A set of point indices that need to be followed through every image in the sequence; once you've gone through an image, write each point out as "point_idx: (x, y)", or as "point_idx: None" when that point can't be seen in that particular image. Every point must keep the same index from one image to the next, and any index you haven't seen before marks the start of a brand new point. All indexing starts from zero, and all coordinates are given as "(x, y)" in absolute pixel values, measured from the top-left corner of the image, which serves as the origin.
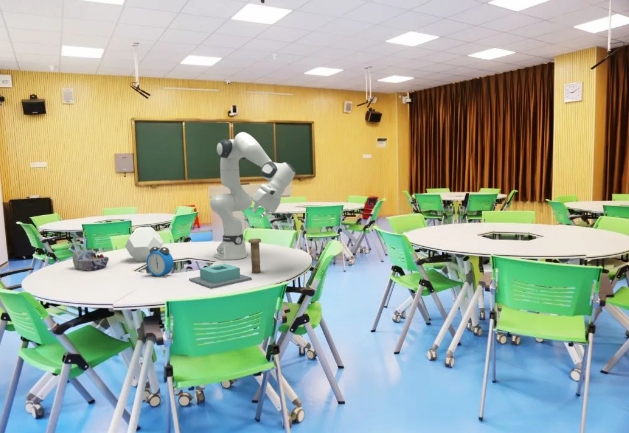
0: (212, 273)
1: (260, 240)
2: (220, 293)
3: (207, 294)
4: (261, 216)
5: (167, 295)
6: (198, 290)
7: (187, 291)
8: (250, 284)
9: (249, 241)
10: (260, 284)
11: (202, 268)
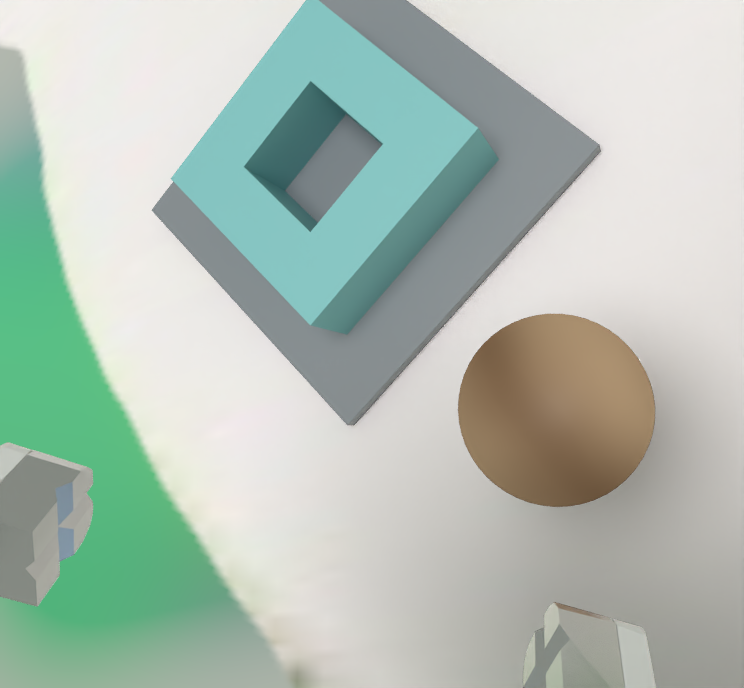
0: (186, 165)
1: (535, 502)
2: (80, 306)
3: (70, 239)
4: (547, 629)
5: (72, 29)
6: (139, 151)
7: (127, 96)
8: (235, 442)
9: (486, 346)
10: (231, 514)
11: (308, 17)
